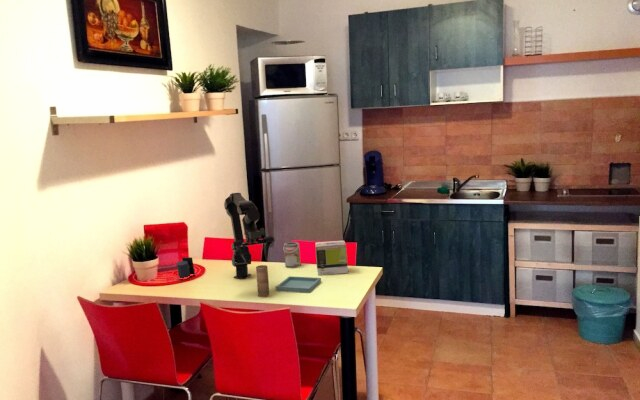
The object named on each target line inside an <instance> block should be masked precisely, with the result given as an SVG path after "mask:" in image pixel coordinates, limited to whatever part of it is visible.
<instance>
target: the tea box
mask: <svg viewBox="0 0 640 400" xmlns="http://www.w3.org/2000/svg"><path fill="white" fill-rule="evenodd" d="M315 259H316V270H317V271H316V272H317V276H322V275H323V276H325V275H336V274H349V271H348V270H349V269H348V266H349V265H348V253H347V244H346V242H345V240H331V241H318V242H317V241H316V242H315Z"/></svg>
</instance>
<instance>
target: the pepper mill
mask: <svg viewBox="0 0 640 400" xmlns="http://www.w3.org/2000/svg"><path fill="white" fill-rule="evenodd" d="M268 269H269V268H268V265H267V264H264V265H263V264H261V265H257V266H256V267H255V270H256V271H255V273H256V283H257V285H256V286H257V287H256V288H257V296H258V297H259V298H267V297H269V296H270V284H269V282H270V281H269V270H268Z"/></svg>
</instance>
